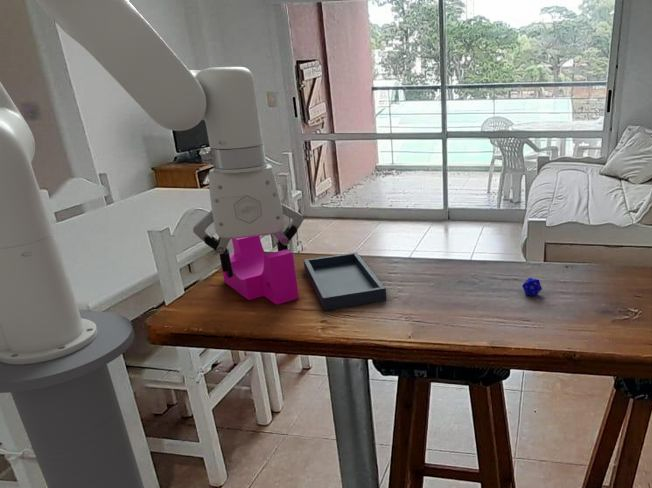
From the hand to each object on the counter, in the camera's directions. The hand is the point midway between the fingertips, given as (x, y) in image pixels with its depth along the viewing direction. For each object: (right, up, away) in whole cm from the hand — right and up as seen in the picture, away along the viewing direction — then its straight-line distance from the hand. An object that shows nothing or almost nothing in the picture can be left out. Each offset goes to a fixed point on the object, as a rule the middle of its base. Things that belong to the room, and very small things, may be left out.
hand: (257, 270), depth 91 cm
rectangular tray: (+13, -2, +3) cm, 14 cm away
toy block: (0, -3, +2) cm, 4 cm away
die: (+43, -4, -4) cm, 43 cm away
